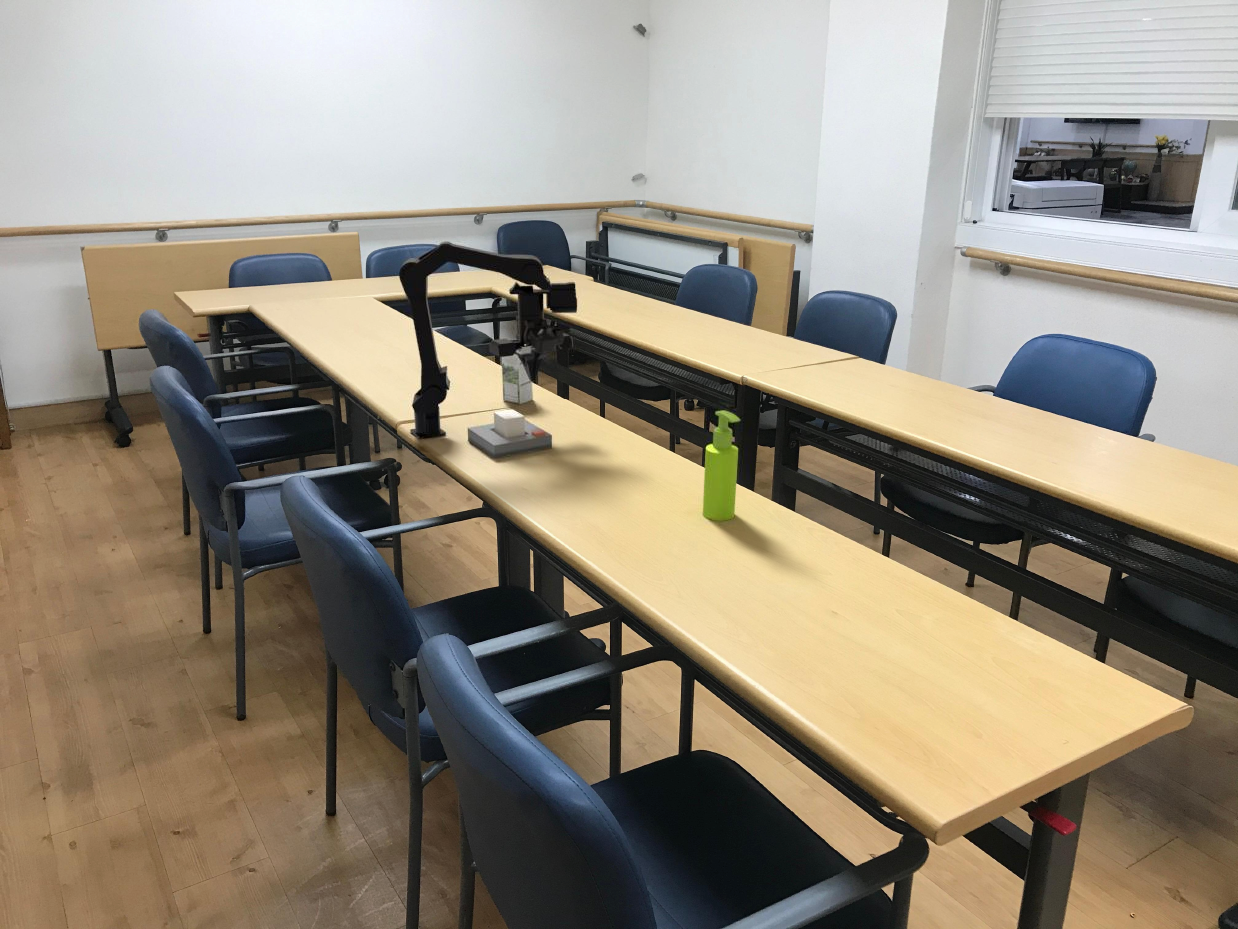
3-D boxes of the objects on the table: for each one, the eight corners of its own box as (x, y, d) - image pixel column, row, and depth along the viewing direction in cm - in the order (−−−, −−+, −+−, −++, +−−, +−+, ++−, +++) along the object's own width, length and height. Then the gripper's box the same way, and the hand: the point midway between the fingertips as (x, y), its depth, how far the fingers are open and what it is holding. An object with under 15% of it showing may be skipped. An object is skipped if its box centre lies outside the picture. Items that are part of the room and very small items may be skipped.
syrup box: (533, 399, 247) (532, 344, 242) (519, 405, 242) (518, 349, 237) (516, 396, 249) (514, 341, 244) (502, 401, 245) (500, 346, 240)
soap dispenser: (716, 525, 173) (722, 420, 166) (696, 511, 179) (701, 409, 172) (743, 519, 176) (750, 415, 169) (722, 506, 181) (728, 405, 174)
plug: (494, 437, 214) (493, 412, 212) (513, 434, 217) (512, 409, 214) (506, 445, 209) (505, 419, 207) (525, 441, 212) (524, 416, 210)
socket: (468, 440, 215) (467, 424, 214) (523, 430, 222) (523, 415, 221) (494, 458, 204) (494, 442, 203) (552, 447, 211) (551, 432, 210)
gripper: (509, 324, 202) (511, 395, 207) (585, 315, 211) (585, 383, 217) (486, 315, 211) (489, 383, 216) (560, 307, 220) (561, 372, 226)
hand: (532, 380), depth 218 cm, fingers closed
